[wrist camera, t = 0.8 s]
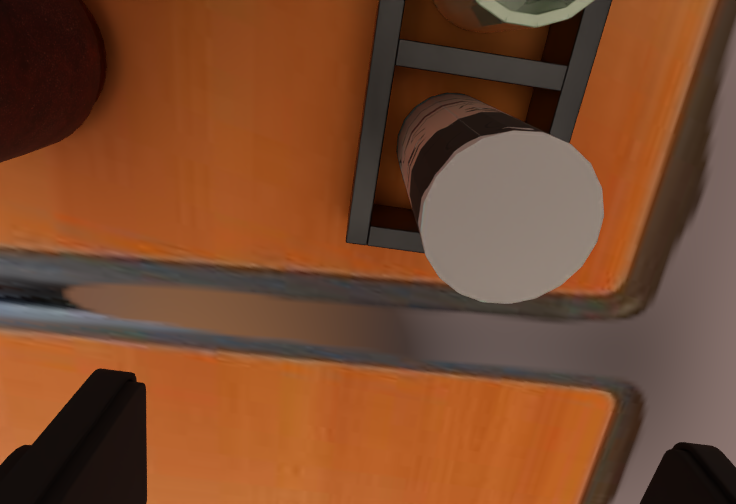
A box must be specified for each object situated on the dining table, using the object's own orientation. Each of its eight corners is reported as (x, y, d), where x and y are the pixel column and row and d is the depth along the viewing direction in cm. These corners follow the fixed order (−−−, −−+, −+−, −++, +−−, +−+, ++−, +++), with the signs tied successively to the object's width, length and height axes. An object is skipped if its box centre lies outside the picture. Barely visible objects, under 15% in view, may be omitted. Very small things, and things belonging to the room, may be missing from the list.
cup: (501, 87, 31) (613, 122, 17) (499, 192, 33) (595, 296, 20) (392, 97, 31) (415, 139, 17) (399, 201, 34) (424, 310, 20)
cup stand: (347, 218, 34) (345, 243, 30) (402, -179, 26) (409, -222, 22) (512, 241, 35) (532, 268, 31) (617, -139, 26) (664, -173, 22)
